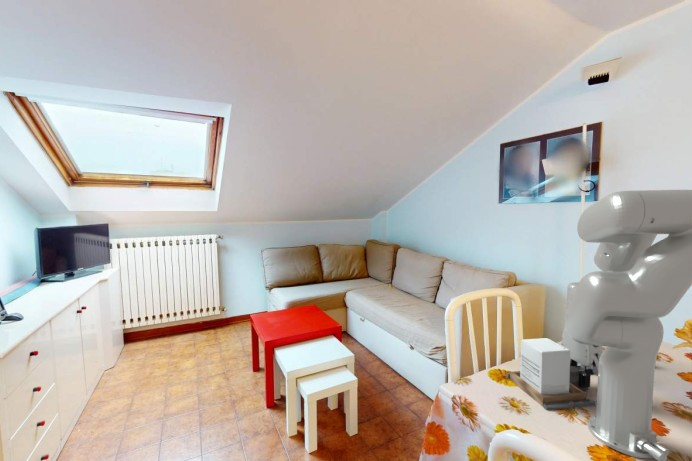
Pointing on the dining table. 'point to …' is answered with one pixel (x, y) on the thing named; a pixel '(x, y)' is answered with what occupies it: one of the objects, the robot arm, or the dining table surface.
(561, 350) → the supplement box
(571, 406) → the lane rails
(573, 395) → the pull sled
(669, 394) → the dining table surface
